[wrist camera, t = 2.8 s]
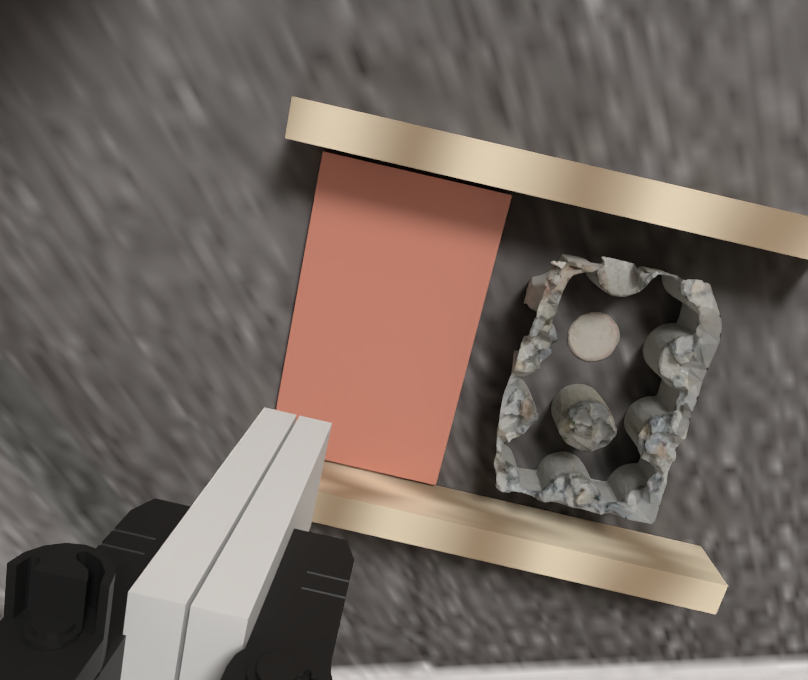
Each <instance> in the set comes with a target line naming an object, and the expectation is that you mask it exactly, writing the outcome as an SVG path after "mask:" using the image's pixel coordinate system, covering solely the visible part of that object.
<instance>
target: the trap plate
mask: <svg viewBox="0 0 808 680" xmlns="http://www.w3.org/2000/svg"><path fill="white" fill-rule="evenodd" d="M511 198H512V195H509V194H505V193H501V192H496V191H492V190H488V189H483V188H479V187H475V186H470V185H466V184H462V183H458V182H453V181H449V180H445V179H440V178H436V177H432V176H427V175H423V174H419V173H414V172H410V171H406V170H402V169H397V168H393V167H389V166H384V165H380V164H376V163H371V162H367V161H363V160H358V159H354V158H350V157H346V156H341V155H337V154H333V153H328V152H324V151H323V153H322V159H321V164H320V170H319V175H318V181H317V186H316V192H315V197H314V203H313V208H312V214H311V219H310V225H309V230H308V236H307V241H306V247H305V252H304V258H303V264H302V269H301V275H300V280H299V286H298V291H297V297H296V302H295V308H294V313H293V319H292V324H291V330H290V335H289V341H288V346H287V352H286V357H285V363H284V368H283V374H282V379H281V385H280V391H279V396H278V402H277V407H276V410H278V411H282V412H287V413H291V414H295V415H297V417H296V421H297V419H298V418H299V416H304V417H308V418H313V419H317V420H321V421H326V422H330V423H332V426H331V431H330V436H329V441H328V445H327V450H326V455H325V460H328V461H332V462H337V463H341V464H345V465H350V466H354V467H358V468H363V469H367V470H372V471H376V472H380V473H385V474H389V475H393V476H398V477H402V478H406V479H411V480H415V481H419V482H424V483H428V484H432V485H436V482H437V479H438V475H439V471H440V467H441V463H442V460H443V456H444V452H445V448H446V445H447V441H448V437H449V433H450V429H451V426H452V422H453V418H454V414H455V410H456V407H457V403H458V399H459V395H460V391H461V388H462V384H463V380H464V376H465V372H466V369H467V365H468V361H469V357H470V353H471V350H472V346H473V342H474V338H475V334H476V331H477V327H478V323H479V319H480V315H481V312H482V308H483V304H484V300H485V296H486V293H487V289H488V285H489V281H490V277H491V274H492V270H493V266H494V262H495V258H496V255H497V251H498V247H499V243H500V239H501V236H502V232H503V228H504V224H505V220H506V217H507V213H508V209H509V205H510V201H511ZM295 423H296V422H295Z"/></svg>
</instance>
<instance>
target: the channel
mask: <svg viewBox="0 0 808 680" xmlns="http://www.w3.org/2000/svg"><path fill="white" fill-rule="evenodd" d="M285 138H286V139H291V140H295V141H299V142H303V143H308V144H312V145H316V146H321V147H325V148H329V149H334V150H338V151H342V152H347V153H351V154H355V155H359V156H364V157H368V158H372V159H377V160H381V161H385V162H390V163H394V164H398V165H403V166H407V167H411V168H415V169H420V170H424V171H428V172H433V173H437V174H441V175H446V176H450V177H454V178H459V179H463V180H467V181H471V182H476V183H480V184H484V185H489V186H493V187H497V188H502V189H506V190H510V191H515V192H519V193H523V194H527V195H532V196H536V197H540V198H545V199H549V200H553V201H558V202H562V203H566V204H571V205H575V206H579V207H583V208H588V209H592V210H596V211H601V212H605V213H609V214H614V215H618V216H622V217H627V218H631V219H635V220H639V221H644V222H648V223H652V224H657V225H661V226H665V227H670V228H674V229H678V230H683V231H687V232H691V233H695V234H700V235H704V236H708V237H713V238H717V239H721V240H726V241H730V242H734V243H739V244H743V245H747V246H751V247H756V248H760V249H764V250H769V251H773V252H777V253H782V254H786V255H790V256H795V257H799V258H803V259H807V260H808V216H805V215H801V214H797V213H792V212H788V211H784V210H779V209H775V208H771V207H766V206H762V205H758V204H754V203H749V202H745V201H741V200H736V199H732V198H728V197H723V196H719V195H715V194H710V193H706V192H702V191H698V190H693V189H689V188H685V187H680V186H676V185H672V184H667V183H663V182H659V181H655V180H650V179H646V178H642V177H637V176H633V175H629V174H624V173H620V172H616V171H612V170H607V169H603V168H599V167H594V166H590V165H586V164H581V163H577V162H573V161H569V160H564V159H560V158H556V157H551V156H547V155H543V154H538V153H534V152H530V151H525V150H521V149H517V148H513V147H508V146H504V145H500V144H495V143H491V142H487V141H482V140H478V139H474V138H470V137H465V136H461V135H457V134H452V133H448V132H444V131H439V130H435V129H431V128H427V127H422V126H418V125H414V124H409V123H405V122H401V121H396V120H392V119H388V118H383V117H379V116H375V115H371V114H366V113H362V112H358V111H353V110H349V109H345V108H340V107H336V106H332V105H328V104H323V103H319V102H315V101H310V100H306V99H302V98H297V97H293V96H292V99H291V105H290V111H289V117H288V123H287V130H286V136H285ZM312 522H315V523H320V524H324V525H328V526H333V527H337V528H341V529H346V530H350V531H354V532H359V533H363V534H367V535H372V536H376V537H380V538H385V539H389V540H393V541H398V542H402V543H407V544H411V545H415V546H420V547H424V548H428V549H433V550H437V551H441V552H446V553H450V554H454V555H459V556H463V557H467V558H472V559H476V560H481V561H485V562H489V563H494V564H498V565H502V566H507V567H511V568H515V569H520V570H524V571H528V572H533V573H537V574H541V575H546V576H550V577H555V578H559V579H563V580H568V581H572V582H576V583H581V584H585V585H589V586H594V587H598V588H602V589H607V590H611V591H615V592H620V593H624V594H628V595H633V596H637V597H642V598H646V599H650V600H655V601H659V602H663V603H668V604H672V605H676V606H681V607H685V608H689V609H694V610H698V611H702V612H707V613H711V614H716V613H717V611H718V608H719V606H720V603H721V601H722V599H723V596H724V594H725V592H726V589H727V587H728V585H727V584H726V582H725V581H724V579H723V578H722V576H721V575H720V574H719V572H718V571H717V569H716V568H715V566H714V565H713V563H712V562H711V560H710V559H709V557H708V556H707V555H706V553H705V552H704V550H703V549H702V547H701V546H698V545H694V544H689V543H685V542H681V541H676V540H672V539H667V538H663V537H659V536H654V535H650V534H646V533H641V532H637V531H633V530H628V529H624V528H620V527H615V526H611V525H607V524H602V523H598V522H594V521H589V520H585V519H581V518H576V517H572V516H568V515H563V514H559V513H555V512H550V511H546V510H541V509H537V508H533V507H528V506H524V505H520V504H515V503H511V502H507V501H502V500H498V499H494V498H489V497H485V496H481V495H476V494H472V493H468V492H463V491H459V490H455V489H450V488H446V487H442V486H437V485H432V484H428V483H424V482H419V481H415V480H411V479H406V478H402V477H398V476H393V475H389V474H385V473H380V472H376V471H372V470H367V469H363V468H358V467H354V466H350V465H345V464H341V463H337V462H332V461H328V460H324V465H323V470H322V474H321V479H320V484H319V489H318V494H317V498H316V503H315V508H314V513H313V518H312Z"/></svg>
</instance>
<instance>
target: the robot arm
mask: <svg viewBox="0 0 808 680" xmlns="http://www.w3.org/2000/svg"><path fill="white" fill-rule="evenodd" d="M296 417H297V415H295V414H291V413H287V412H282V411H278V410H274V409H269V408H265V407H264V409H263V410H262V411H261V413H260V414H259V415H258V417H257V418H256V419H255V421H254V422H253V423H252V425H251V426H250V427H249V429H248V430H247V432H246V433H245V434H244V436H243V437H242V438H241V440H240V441H239V442H238V444H237V445H236V446H235V448H234V449H233V450H232V452H231V453H230V455H229V456H228V457H227V459H226V460H225V461H224V463H223V464H222V465H221V467H220V468H219V469H218V471H217V472H216V473H215V475H214V476H213V478H212V479H211V480H210V482H209V483H208V484H207V486H206V487H205V488H204V490H203V491H202V492H201V494H200V495H199V496H198V498H197V499H196V501H195V502H194V503H193V505H192V506H191V507H190V506H186V505H181V504H177V503H173V502H168V501H164V500H160V499H153V500H151V501H149V502H147V503H145V504H143V505H141V506H139V507H136V508H134V509H132V510H131V511H130V512H129V513H128V514H127V515H126V516H125V517H124V518H123V519H122V520H121V522H120V523H119V524H118V525H117V526H116V527H115V530H114V531H111V533H110V534H109V535H108V536H107V537H106V538H105V539H104V540H103V541H102V544H101V546H100V545H99V546H98V547H97V548H96V549H95V548H93V547H90V546H87V545H81V544H70V543H62V544H53V545H45V546H41V547H38V548H36V549H33V550H30V551H27V552H24V553H22V554H21V555H19V556H18V557H16V558H15V559H13V560H11V561H10V562H8V563H7V573H6V589H5V605H4V618H3V619H2V620H1V621H0V680H332V676H331V661H332V656H333V652H334V647H335V643H336V638H337V634H338V629H339V625H340V620H341V616H342V611H343V607H344V602H345V598H346V593H347V589H348V585H349V580H350V576H351V571H352V567H353V562H354V558H353V556H352V553H351V550H350V548H349V545H348V542H347V540H342V539H338V538H334V537H329V536H325V535H320V534H316V533H312V532H309V530H310V527H311V522H312V518H313V513H314V508H315V503H316V498H317V494H318V489H319V484H320V479H321V474H322V470H323V465H324V460H325V455H326V450H327V445H328V441H329V436H330V431H331V426H332V423H330V422H326V421H321V420H317V419H313V418H308V417H304V416H299V418H298V419H297V421H296ZM295 422H296V423H295Z"/></svg>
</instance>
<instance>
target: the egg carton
mask: <svg viewBox="0 0 808 680" xmlns="http://www.w3.org/2000/svg"><path fill="white" fill-rule="evenodd" d="M602 261H603V262H602V263H601V264H598V263H590V262H589V261H587V260H586V259H584V258H581V257H577V256H571V255H567V254H562V255H561V256H560V258H559V259H558V261H552V262H551V265H552V266H553V268H552V269H551V270H550V271H548V272H547V273H545V274H543V275H541V276H535V277H532V278H531V280H530V281H529V283H528V287H527V292H526V296H525V300H524V303H526V304H527V305H528V306H529V307H530V308H531V309H533V310H534V311H536V312H537V316H536V318H535V320H534V322H533V325H532V327H531V330H530V332H529V335H528V336H524V338H523V340H522V342H521V346H520V350H515V351H514V354H513V364H512V372H511V376H510V379H509V381H508V384H507V387H506V389H505V392H504V395H503V400H502V405H501V410H500V418H499V425H498V427H497V452H496V457H495V459H494V467H495V470H496V488H497V489H498V490H500V491H501V492H506V493H510V492H511V491H516V492H520V493H525V494H528V495H530V496H533V497H534V498H535V499H537V500H539V501H542V502H557V503H561V504H564V505H567V506H569V507H571V508H579V509H584V510H587V511H590V512H594V513H597V514H600V515H602V514H606V513H612V514H616V515H618V516H620V517H623V518H626V519H630V520H634V521H639V522H644V523H649V524H652V523H653V522H654V521H655V520H656V516H657V513H658V509H659V506H660V502H661V499H662V496H663V493H664V490H665V487H666V484H667V474H668V471H669V468H670V465H671V463H672V462H673V461H675V459H676V449H677V447H678V445H679V444H680V443H681V442H683V441H684V440H685V439H686V435H687V430H688V426H689V421H690V418H691V414H692V411H693V409H694V406H695V404H696V401H697V399H698V396H699V392H700V388H701V384H702V381H703V378H704V376H705V374H706V372H707V369H708V367H709V365H710V363H711V360H712V358H713V356H714V354H715V351H716V349H717V347H718V345H719V341H720V336H721V331H722V323H721V316H720V313H719V310H718V307H717V304H716V301H715V298H714V295H713V292H712V288H711V285H710V284H709V283H707V282H704V281H702V280H691V279H688V280H683V279H681V278H680V277H679V276H676V275H672V274H669V273H666V272H664V271H662V270H659V269H654V268H648V267H645V266H641V267H638V269H637V268H636V266H635V264H634V263H629V262H626V261H621V260H618V259H613V258H609V257H602ZM584 272H586V275H587V276H588V278H589V279H590V280H591V281H592V282H593V283H594V284H595V285H597V286H598V287H599V288H601V289H602V290H603V291H605V292H607V293H609V294H610V295H612V296H618V297H626V296H629V295H633V294H636V293H638V292H640V291H641V290H642V289H644V288H645V287H646V286H647V285H648V283H649V282H650V281H651V280H652V279H653V278H655V277H656V276H657V275H658V274H661V276H662V283H663V285H664V288H665V290H666V291H667V292H668V293H669V294H670V295H671V296H673V297H674V298H676V299H678V300H679V301H681V302H682V307H681V311H680V315H679V318H678V320H677V322H676V323H666V324H663V325H660V326H658V327H656V328H655V329H654V330H652V331H651V332H650V334H649V335H648V336H647V338H646V339H645V341H644V345H643V357H644V359H645V361H646V363H647V364H648V366H649V367H650V368H651V369H652V370H653V371H654V372H655V373H656V374H658V375H659V376H660V377H661V378H662V380H661V384H660V387H659V391H658V394H657V395H656V396H647V397H643V398H641V399H638V400H637V401H635V402H634V403H632V404H631V405H630V406H629V408H628V410H627V412H626V415H625V418H624V426H625V429H626V431H627V433H628V435H629V436H630V437H631V439H632V440H633V442H634V443H635V445H636V446H637V447H638V451H639V453H640V455H641V457H640V460H639V462H638V463H631V464H625V465H623V466H620V467H618V468H617V469H616V470H615V471H613V473H612V474H611V475H610V476H609V478H608V480H607V481H600V480H594V479H591V478H590V476H589V474H588V472H587V470H586V468H585V466H584V464H583V463H582V462H581V461H580V459H579V458H578V457H577V456H576V455H574V454H572V453H569V452H565V451H560V452H554V453H552V454H549V455H547V456H546V457H545V458H543V460H542V461H541V462H540V464H539V465H538V467H537V469H536V470H529V469H523V468H518V467H517V465H516V462H515V459H514V456H513V453H512V451H511V449H510V448H509V447H508V446H507V445H505V444H504V442H507V443H509V442H510V441H511V439H513V438H516V437H519V436H521V435H523V434H524V433H525V432H526V431H527V430H528V428H529V427H530V426H531V425H532V424H533V423H534V422H535V421H537V420H538V410H537V409H536V406H535V403H534V401H533V398H532V396H531V393H530V391H529V389H528V387H527V385H526V383H525V382H524V381H523V380H522V379H521V378H520V377H523V376H527V375H529V374H531V373H534V372H536V371H537V370H539V369H540V363H541V361H543V360H544V359H546V358H547V357H548V356H549V355H550V354H551V353H552V344H553V343H554V342H556V341H558V339H557V333H556V330H555V327H554V325H553V324H552V321H553V318H554V316H555V314H556V312H557V309H558V305H559V302H560V299H561V296H562V292H563V290H564V288H565V286H566V284H567V282H568V281H569V280H570V279H571V277H572V276H573V275H576V274H580V273H584ZM619 336H620V334H619V329H618V326H617V325H616V323H615V322H614V320H613V319H612V318H611V317H610V316H608V315H607V314H605V313H601V312H589V313H587V314H584V315H581V316H579V317H578V318H577V319H576V320H575V321H574V322H573V323H572V324H571V326H570V328H569V330H568V338H567V339H568V342H567V343H568V345H569V348H570V350H571V351H572V352H573V354H574V355H575V356H577V357H578V358H579V359H581V360H584V361H598V360H602V359H604V358H606V357H607V356H609V355H610V354H611V353H612V352H613V350H614V349H615V347H616V345H617V344H618V342H619ZM551 414H552V416H553V419H554V421H555V424H556V426H557V428H558V431H559V433H560V436H561V437H562V438H563V440H564V441H565V442H566V443H567V444H568V445H570V446H572V447H574V448H576V449H579V450H582V451H585V452H588V453H589V452H592V451H594V450H597V449H599V448H602V447H605V446H607V445H608V444H609V443H610V441H611V440H612V439H613V438H614V437H615V436H616V434H617V428H616V425H615V422H614V419H613V415H612V413H611V411H610V410H609V408H608V407H607V405H606V404H605V402H604V401H603V399H602V398H601V397H600V395H599V394H598V393H597V392H596V391H595V390H594V389H593V388H591V387H589V386H587V385H584V384H573V385H568V386H566V387H564V388H563V389H561V390H560V391H559V392H558V393H557V394H556V396H555V397H554V399H553V401H552V405H551Z"/></svg>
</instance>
